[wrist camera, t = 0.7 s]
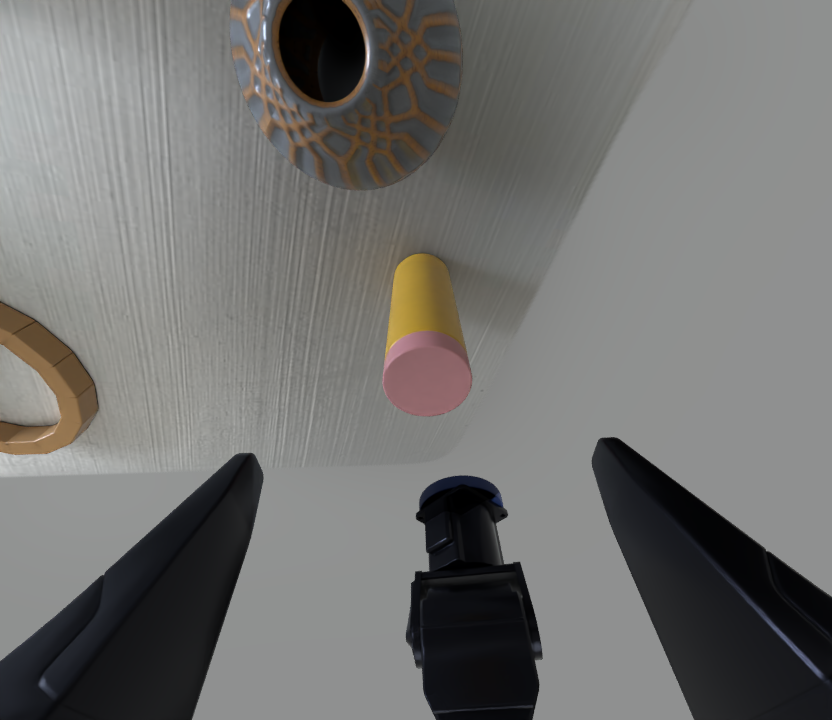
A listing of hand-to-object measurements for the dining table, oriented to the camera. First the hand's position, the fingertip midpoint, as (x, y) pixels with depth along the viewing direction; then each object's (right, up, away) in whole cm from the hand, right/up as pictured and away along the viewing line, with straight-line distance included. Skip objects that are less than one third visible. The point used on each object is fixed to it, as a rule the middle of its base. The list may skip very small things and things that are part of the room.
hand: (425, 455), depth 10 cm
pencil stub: (0, +7, +10) cm, 12 cm away
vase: (-2, +14, +5) cm, 15 cm away
